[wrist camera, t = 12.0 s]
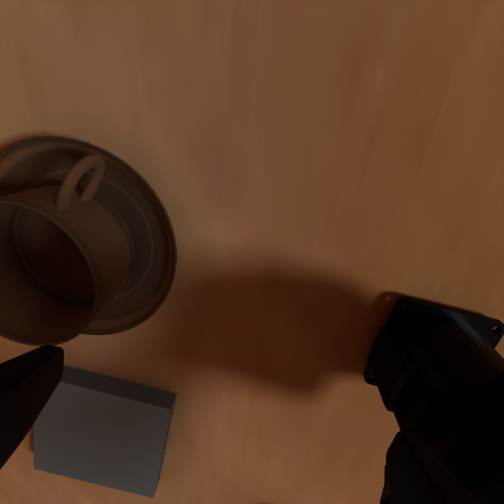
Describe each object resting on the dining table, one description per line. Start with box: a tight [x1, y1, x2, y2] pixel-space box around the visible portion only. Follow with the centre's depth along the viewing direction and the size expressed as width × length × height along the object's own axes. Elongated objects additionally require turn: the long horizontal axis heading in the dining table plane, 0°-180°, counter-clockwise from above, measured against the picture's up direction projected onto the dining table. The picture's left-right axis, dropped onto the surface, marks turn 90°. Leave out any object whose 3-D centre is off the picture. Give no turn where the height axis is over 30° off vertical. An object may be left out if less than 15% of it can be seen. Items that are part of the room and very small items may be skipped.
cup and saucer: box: [0, 137, 177, 346], centre depth 18 cm, size 12×12×6 cm
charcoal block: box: [33, 365, 176, 498], centre depth 26 cm, size 10×10×2 cm
